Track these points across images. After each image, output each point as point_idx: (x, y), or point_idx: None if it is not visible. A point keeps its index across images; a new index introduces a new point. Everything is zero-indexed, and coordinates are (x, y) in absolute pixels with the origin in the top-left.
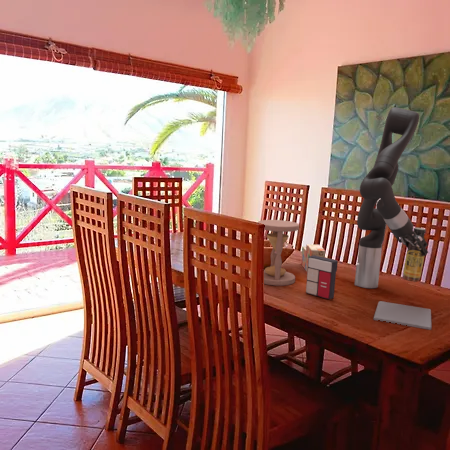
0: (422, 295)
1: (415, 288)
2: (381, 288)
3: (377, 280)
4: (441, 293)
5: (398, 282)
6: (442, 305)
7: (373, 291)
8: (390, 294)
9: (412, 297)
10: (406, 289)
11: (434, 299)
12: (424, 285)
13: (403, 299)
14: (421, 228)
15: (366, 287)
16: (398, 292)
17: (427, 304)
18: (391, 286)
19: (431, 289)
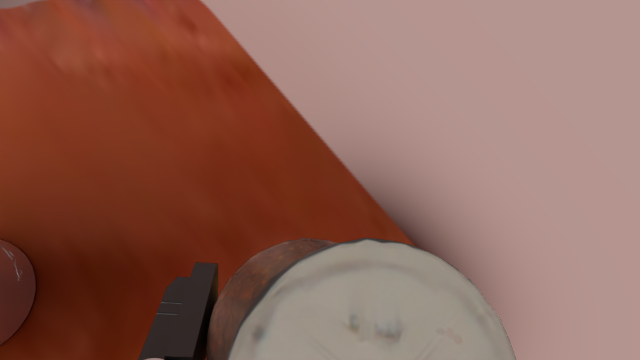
0: (217, 148)
1: (131, 95)
2: (53, 252)
3: (8, 271)
4: (228, 52)
5: (25, 93)
6: (341, 176)
7: (70, 335)
8: (146, 282)
9: (221, 213)
10: (123, 145)
11: (275, 144)
12: (117, 23)
13: (226, 278)
14: (380, 329)
15: (9, 337)
16: (140, 218)
17: (313, 227)
18: (55, 176)
19: (172, 44)
